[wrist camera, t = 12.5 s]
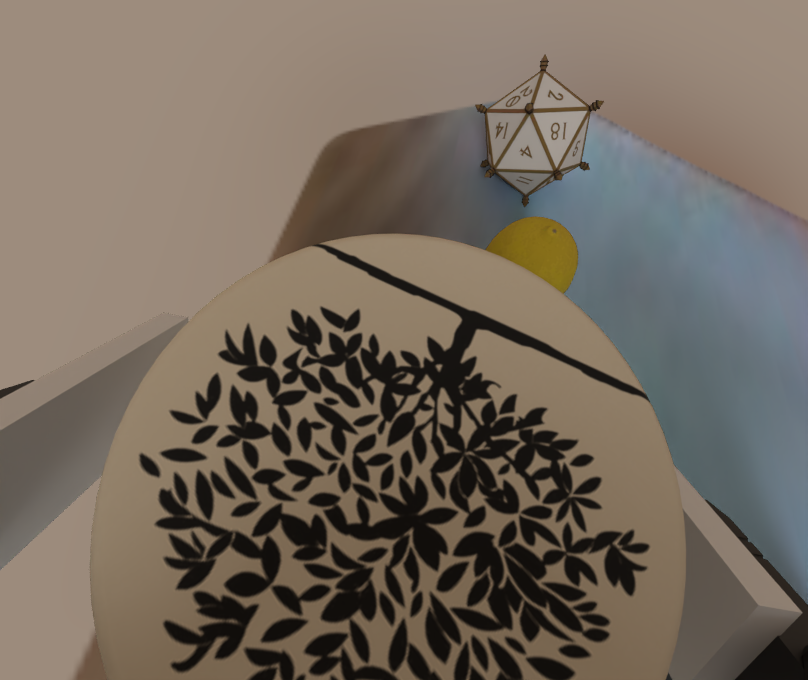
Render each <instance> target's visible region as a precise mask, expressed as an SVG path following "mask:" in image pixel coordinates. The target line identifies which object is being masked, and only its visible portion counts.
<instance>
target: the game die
mask: <svg viewBox="0 0 808 680" xmlns="http://www.w3.org/2000/svg"><path fill="white" fill-rule="evenodd" d="M540 62H541V65H540V68H541V70H540V72H538V73H537V74H536V75H534V76H533V77H531V78H530V79H529V80H527V81H526V82H525V83H523V84H522V85H520V86H519V87H517V88H516V89H515V90H513V91H512V92H510V93H509V94H508V95H506V96H505V97H503V98H502V99H501V100H499V101H498V102H496V103H495V104H493V105H492V106H491V107H489V108H488V109H486V108H485V106H483V105H482V104H480V105H475V106H476V108H477V110H478V111H479V112H481V113H484V114H485V124H486V141H487V157H488V160H485V161H482V164H481V167H483V168H484V167H486V166H488V165H490V166H491V168H492V169H489V170H487V171H486V174H485V177H490V178H491V176H493V175H494V173H496V174H497V175H498V176H500V177H501V178H502V179H503V180H505V181H506V182H507V183H509V184H510V185H511V186H512V187H514V188H515V189H516V190H518V191H519V192H520V193H521V194H523V195H524V197H523V199H522V200H523V201H522V203H523V205H524V207H525V206H526V205H527V204H528V203H529V202H528V200H529V198H528V196H529V195H530V194H532V193H534V192H536V191H537V190H539V189H541V188H542V187H544V186H546V185H547V184H549V183H551V182H553V181H554V180H562V177H563V175H564V174H566V173H568V172H570V171H571V170H573V169H575V168H576V167H578V166H580V168H581V169H583V170H584V171H585V170H590V168H589V165H588V164H589V163H586V162H582V156H583V150H584V145H585V139H586V134H587V128H588V123H589V117H590V112H591V111H593V110H595V111H596V109H600V107H601V105H602V104H603V102H604V101H598V100H596V102H594V103H592V105H590V106H589V105H588V104H586V103H585V102H584V101H583V100H581V99H580V98H579V97H578V96H576V95H575V94H574V93H573V92H571V91H570V90H569V89H568V88H566V87H565V86H564V85H563V84H561V83H560V82H559V81H558V80H556V79H555V78H554V77H553V76H551V75H550V74H549V73H548V72H546V68H547V66H548V65H547V63H548V62H549V61H548V60H547V57H546V55H544V57H543V59H542V60H541V61H540Z"/></svg>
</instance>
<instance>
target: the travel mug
mask: <svg viewBox="0 0 808 680" xmlns="http://www.w3.org/2000/svg"><path fill="white" fill-rule="evenodd" d="M90 553H91V555H90V581H91V603H92V610H93V617H94V624H95V630H96V637H97V642H98V646H99V650H100V654H101V658H102V661H103V665H104V669H105V673H106V676H107V680H666V677H667V675H668V671H669V668H670V664H671V661H672V657H673V654H674V650H675V647H676V643H677V638H678V633H679V627H680V622H681V617H682V612H683V602H684V592H685V582H686V538H685V525H684V514H683V508H682V502H681V495H680V489H679V485H678V480H677V476H676V472H675V468H674V464H673V460H672V457H671V454H670V451H669V448H668V445H667V442H666V439H665V436H664V433H663V430H662V428H661V426H660V423H659V421H658V419H657V416H656V414H655V411H654V409H653V407H652V405H651V403H650V401H649V399H648V397H647V395H646V393H645V392H644V390H643V388H642V386H641V384H640V382H639V381H638V379H637V378H636V376H635V374H634V373H633V371H632V370H631V368H630V366H629V365H628V363H627V362H626V360H625V359H624V358H623V356H622V355H621V354H620V352H619V351H618V350H617V348H616V347H615V345H614V344H613V343H612V342H611V341H610V339H609V338H608V337H607V336H606V335H605V334H604V332H603V331H602V330H601V329H600V328H599V327H598V325H597V324H596V323H595V322H594V321H593V320H592V319H591V318H590V317H589V316H588V315H587V314H585V313H584V312H583V311H582V310H581V309H580V308H579V307H578V306H577V305H576V304H575V303H573V302H572V301H571V300H570V299H569V298H568V297H566V296H565V295H564V294H563V293H562V292H560V291H559V290H557V289H556V288H555V287H553V286H552V285H550V284H549V283H548V282H546V281H545V280H543V279H542V278H540V277H538V276H537V275H535V274H533V273H532V272H530V271H528V270H527V269H525V268H523V267H521V266H519V265H517V264H515V263H513V262H511V261H509V260H507V259H505V258H503V257H501V256H498V255H496V254H493V253H491V252H488V251H486V250H483V249H480V248H477V247H474V246H471V245H468V244H464V243H461V242H456V241H452V240H447V239H443V238H438V237H430V236H423V235H413V234H370V235H362V236H353V237H347V238H342V239H337V240H332V241H327V242H323V243H320V244H317V245H313V246H310V247H306V248H303V249H301V250H298V251H295V252H293V253H290V254H288V255H285V256H282V257H280V258H278V259H276V260H274V261H272V262H270V263H268V264H266V265H264V266H262V267H260V268H258V269H257V270H255V271H253V272H252V273H250V274H248V275H246V276H245V277H244V278H242V279H240V280H238V281H237V282H235V283H234V284H233V285H231V286H230V287H229V288H227V289H226V290H224V291H223V292H221V293H220V294H219V295H217V296H216V297H215V298H214V299H213V300H212V301H210V302H209V303H208V304H207V305H206V306H205V307H203V308H202V309H201V310H200V311H199V312H198V313H196V315H195V316H194V317H193V318H192V319H191V320H190V321H189V322H188V323H187V324H186V325H185V326H184V327H183V328H182V329H181V330H180V331H179V332H178V333H177V334H176V335H175V337H174V338H173V339H172V340H171V341H170V343H169V344H168V345H167V346H166V348H165V349H164V350H163V351H162V352H161V354H160V355H159V356H158V358H157V359H156V361H155V362H154V364H153V365H152V367H151V368H150V370H149V371H148V372H147V374H146V375H145V377H144V378H143V380H142V382H141V383H140V385H139V387H138V389H137V391H136V392H135V394H134V396H133V398H132V399H131V401H130V403H129V405H128V407H127V409H126V411H125V414H124V416H123V418H122V420H121V422H120V425H119V427H118V429H117V431H116V434H115V436H114V439H113V442H112V445H111V448H110V451H109V454H108V457H107V459H106V462H105V465H104V469H103V473H102V478H101V482H100V486H99V490H98V494H97V498H96V505H95V512H94V519H93V525H92V532H91V552H90Z"/></svg>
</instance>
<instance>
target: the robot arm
mask: <svg viewBox="0 0 808 680" xmlns="http://www.w3.org/2000/svg"><path fill="white" fill-rule="evenodd" d="M187 323H188V317H184V316H178V315H173V314H168V313H162V314H160V315H158V316H156V317H154V318H153V319H151V320H149V321H147V322H145V323H143V324H141V325H139V326H138V327H135V328H134V329H132V330H130V331H128V332H126V333H124V334H122V335H120V336H119V337H116V338H115V339H113V340H111V341H109V342H107V343H105V344H103V345H101V346H100V347H98V348H96V349H94V350H92V351H90V352H88V353H86V354H84V355H82V356H81V357H79V358H77V359H75V360H73V361H71V362H69V363H67V364H65V365H63V366H62V367H60V368H58V369H56V370H54V371H52V372H50V373H48V374H46V375H45V376H43V377H41V378H39V379H37V380H31V381H28V382H25V383H21V384H18V385H15V386H12V387H9V388H5V389H2V390H0V570H1V569H2V568H3V567H4V566H5V565H6V564H7V563H8V562H10V561H11V560H12V559H13V558H14V557H15V556H16V555H17V554H18V553H19V552H20V551H21V550H22V549H23V548H25V547H26V546H27V545H28V544H29V543H30V542H31V541H32V540H33V539H34V538H35V537H36V536H37V535H38V534H39V533H40V532H42V531H43V530H44V529H45V528H46V527H47V526H48V525H49V524H50V523H51V522H52V521H53V520H54V519H55V518H57V517H58V516H59V515H60V514H61V513H62V512H63V511H64V510H65V509H66V508H67V507H68V506H70V505H71V504H72V503H73V502H74V501H75V500H76V499H77V498H78V497H79V496H80V495H81V494H82V493H83V492H84V491H85V490H87V489H88V488H89V487H90V486H91V485H92V484H93V483H94V482H95V481H96V480H97V479H98V478H99V477H101V476H102V473H103V469H104V465H105V462H106V459H107V457H108V454H109V451H110V448H111V445H112V442H113V439H114V436H115V434H116V431H117V429H118V427H119V425H120V422H121V420H122V418H123V416H124V414H125V411H126V409H127V407H128V405H129V403H130V401H131V399H132V398H133V396H134V394H135V392H136V391H137V389H138V387H139V385H140V383H141V382H142V380H143V378H144V377H145V375H146V374H147V372H148V371H149V370H150V368H151V367H152V365H153V364H154V362H155V361H156V359H157V358H158V356H159V355H160V354H161V352H162V351H163V350H164V349H165V348H166V346H167V345H168V344H169V343H170V341H171V340H172V339H173V338H174V337H175V335H176V334H177V333H178V332H179V331H180V330H181V329H182V328H183V327H184V326H185V325H186V324H187ZM674 468H675V472H676V476H677V480H678V485H679V489H680V495H681V502H682V508H683V514H684V525H685V538H686V582H685V592H684V602H683V612H682V617H681V622H680V627H679V633H678V638H677V643H676V647H675V650H674V654H673V657H672V661H671V664H670V668H669V671H668V675H667V677H666V680H808V605H807V604H806V603H805V602H804V600H803V599H802V598H801V597H800V596H799V595H798V594H797V593H796V592H795V590H794V589H793V588H792V587H791V586H790V585H789V584H788V583H787V582H786V580H785V579H784V578H783V577H782V576H781V575H780V574H779V573H778V572H777V570H776V569H775V568H774V567H773V566H772V565H771V564H770V563H769V561H768V560H765V559H763V555H762V554H761V553H760V551H759V550H758V549H757V548H756V547H755V546H754V545H753V544H752V543H751V542H748V540H747V539H748V538H747V537H746V536H745V535H744V534H743V533H742V531H741V530H740V529H739V528H738V527H737V526H736V525H735V524H734V522H733V521H732V520H731V519H730V518H729V517H727V516H726V515H725V514H724V513H722V512H721V511H720V510H719V509H717V508H716V507H715V506H714V505H712V504H711V503H710V502H709V501H707V500H704V499H703V498H702V497H701V495H700V494H699V493H698V492H697V491H696V490H695V489H694V487H693V486H692V485H691V484H690V483H689V482H688V481H687V479H686V478H685V477H684V476H683V475H682V474H681V472H680V471H679V470H678V469H677V468H676V467H675V466H674Z"/></svg>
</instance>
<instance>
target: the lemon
mask: <svg viewBox="0 0 808 680" xmlns="http://www.w3.org/2000/svg"><path fill="white" fill-rule="evenodd" d="M486 251H488V252H491V253H493V254H496V255H498V256H501V257H503V258H505V259H507V260H509V261H511V262H513V263H515V264H517V265H519V266H521V267H523V268H525V269H527V270H528V271H530V272H532V273H533V274H535V275H537V276H538V277H540V278H542V279H543V280H545V281H546V282H548V283H549V284H550V285H552V286H553V287H555V288H556V289H557V290H559V291H560V292H562V293H563V294H564V293H565V292H566V290H567V289H568V287H569V286H570V284H571V282H572V280H573V277H574V275H575V272H576V269H577V265H578V251H577V246H576V243H575V241H574V239H573V237H572V235H571V234H570V233H569V231H568V230H567V229H566V228H565V227H564V226H562V225H561V224H560V223H558V222H556V221H554V220H552V219H548V218H545V217H527V218H523V219H520V220H518V221H515V222H513V223H511V224H510V225H508V226H507V227H506V228H504V229H503V230H502V231H500V232H499V233H498V234H497V235H496V236H495V237H494V239H493V240H492V241H491V243H490V244H489V245H488V247H487V248H486Z"/></svg>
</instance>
